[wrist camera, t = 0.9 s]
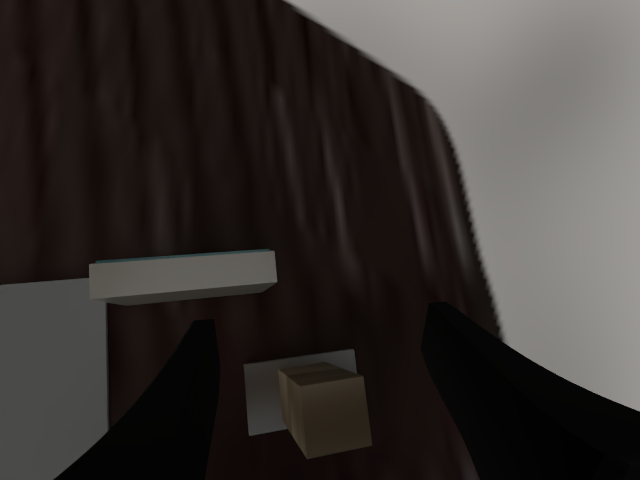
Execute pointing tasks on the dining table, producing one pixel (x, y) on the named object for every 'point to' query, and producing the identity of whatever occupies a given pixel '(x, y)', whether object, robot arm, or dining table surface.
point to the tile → (181, 277)
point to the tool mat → (51, 377)
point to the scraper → (310, 401)
